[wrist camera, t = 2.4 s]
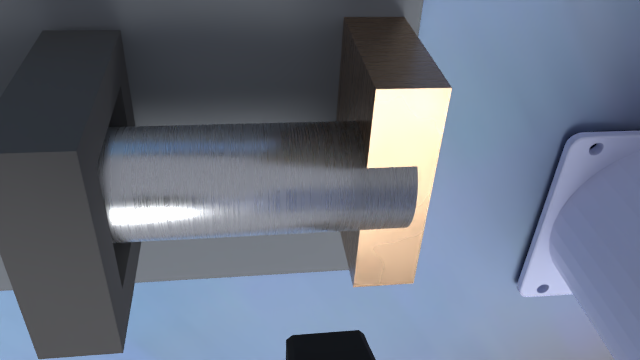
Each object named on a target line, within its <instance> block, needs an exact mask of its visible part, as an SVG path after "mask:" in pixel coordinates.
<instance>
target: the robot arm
mask: <svg viewBox="0 0 640 360" xmlns="http://www.w3.org/2000/svg"><path fill="white" fill-rule="evenodd" d="M596 143H597V145H596V146H595V147H593V148H592V149H590V147H591V146H592V145H594V144H596ZM517 288H518V290H519V292H520V294H521V295H522V296H524V297H537V296H551V295H566V294H573V295H574V297H575V298H576V300H577V301H578V303H579V304H580V306H581V308H582V309H583V311H584V312H585V314H586V315H587V317H588V319H589V320H590V322H591V323H592V325H593V326H594V328H595V330H596V331H597V333H598V334H599V336H600V337H601V339H602V341H603V342H604V344H605V345H606V347H607V348H608V350H609V351H610V353H611V355H612V356H613V358H614V359H615V360H640V131H609V132H581V133H577V134H575V135H573V136H571V137H570V138H569V139H568V140H567V142H566V144H565V146H564V149H563V152H562V155H561V158H560V161H559V164H558V167H557V170H556V173H555V175H554V178H553V181H552V184H551V187H550V190H549V193H548V196H547V199H546V202H545V205H544V208H543V210H542V213H541V216H540V219H539V222H538V225H537V228H536V231H535V234H534V237H533V240H532V243H531V245H530V248H529V251H528V254H527V257H526V260H525V263H524V266H523V269H522V272H521V275H520V278H519V280H518V283H517ZM286 360H376V359H375V357H374V355H373V353H372V351H371V349H370V347H369V345H368V343H367V340H366V338H365V336H364V334H363V333H362V332H360V331H359V330H355V331H342V332H329V333H315V334H302V335H292V336H291V337H290V338H288V339H287V340H286Z"/></svg>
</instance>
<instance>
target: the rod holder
mask: <svg viewBox="0 0 640 360" xmlns="http://www.w3.org/2000/svg"><path fill="white" fill-rule="evenodd" d="M451 90H452V87H451V86H450V84H449V83H448V81H447V80H446V78H445V77H444V75H443V74H442V72H441V71H440V69H439V68H438V66H437V65H436V63H435V62H434V60H433V59H432V57H431V56H430V54H429V53H428V51H427V50H426V48H425V47H424V45H423V44H422V42H421V41H420V39H419V38H418V36H417V35H416V33H415V32H414V30H413V29H412V27H411V26H410V24H409V23H408V21H407V20H406V18H405V17H344V21H343V35H342V49H341V63H340V76H339V90H338V104H337V118H336V121H325V122H287V123H248V124H209V125H171V126H132V127H108V129H107V133H106V136H105V139H104V143H103V146H102V149H101V152H100V156H99V159H98V162H97V166H96V167H97V171H98V176H99V181H100V186H101V190H102V195H103V200H104V204H105V209H106V214H107V219H108V223H109V228H110V233H111V237H112V242H113V243H122V242H142V241H162V240H181V239H201V238H220V237H240V236H260V235H279V234H299V233H318V232H338V231H340V233H341V237H342V242H343V246H344V250H345V254H346V258H347V262H348V267H349V271H350V275H351V279H352V283H353V287H363V286H379V285H395V284H410V283H414V278H415V273H416V268H417V263H418V257H419V252H420V247H421V242H422V237H423V232H424V227H425V222H426V217H427V212H428V207H429V202H430V197H431V191H432V186H433V181H434V176H435V171H436V166H437V161H438V156H439V151H440V146H441V141H442V136H443V131H444V126H445V120H446V115H447V110H448V105H449V100H450V95H451Z"/></svg>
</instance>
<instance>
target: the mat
mask: <svg viewBox="0 0 640 360" xmlns="http://www.w3.org/2000/svg"><path fill="white" fill-rule="evenodd" d="M422 7H423V0H0V97H1V95H2V94H3V92H4V90H5V89H6V87H7V86H8V84H9V83H10V81H11V79H12V78H13V76H14V75H15V73H16V72H17V70H18V68H19V67H20V65H21V64H22V62H23V61H24V59H25V57H26V56H27V54H28V53H29V51H30V50H31V48H32V46H33V45H34V43H35V42H36V40H37V39H38V37H39V35H40V34H41V32H42V31H43V30H120V31H121V37H122V44H123V50H124V56H125V63H126V69H127V75H128V82H129V88H130V94H131V101H132V107H133V114H134V120H135V126H171V125H209V124H248V123H287V122H325V121H336V118H337V104H338V90H339V76H340V63H341V49H342V35H343V21H344V17H405V18H406V20H407V21H408V23H409V24H410V26H411V27H412V29H413V30H414V32H415V33H416V35H417V36H418V33H419V27H420V20H421V13H422ZM338 270H349V267H348V262H347V258H346V254H345V250H344V246H343V242H342V237H341V233H340V231H338V232H318V233H299V234H279V235H260V236H240V237H220V238H201V239H181V240H162V241H142V242H141V248H140V254H139V260H138V266H137V272H136V278H135V283H138V282H155V281H171V280H188V279H205V278H221V277H238V276H255V275H272V274H288V273H305V272H322V271H338ZM4 290H13V288H12V285H11V283H10V280H9V277H8V274H7V272H6V269H5V266H4V264H3V261H2V258H1V255H0V291H4Z"/></svg>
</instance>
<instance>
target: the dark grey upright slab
mask: <svg viewBox="0 0 640 360" xmlns="http://www.w3.org/2000/svg"><path fill="white" fill-rule="evenodd" d="M132 126H135V120H134V114H133V107H132V101H131V94H130V88H129V82H128V75H127V69H126V63H125V56H124V50H123V44H122V37H121V31H120V30H43V31H42V32H41V34H40V35H39V37H38V39H37V40H36V42H35V43H34V45H33V46H32V48H31V50H30V51H29V53H28V54H27V56H26V57H25V59H24V61H23V62H22V64H21V65H20V67H19V68H18V70H17V72H16V73H15V75H14V76H13V78H12V79H11V81H10V83H9V84H8V86H7V87H6V89H5V90H4V92H3V94H2V95H1V97H0V255H1V258H2V261H3V264H4V266H5V269H6V272H7V274H8V277H9V280H10V283H11V285H12V288H13V291H14V294H15V296H16V299H17V302H18V304H19V307H20V310H21V313H22V315H23V318H24V321H25V324H26V326H27V329H28V332H29V334H30V337H31V340H32V343H33V345H34V348H35V351H36V354H37V356H38V359H47V358H60V357H74V356H87V355H100V354H114V353H123V350H124V344H125V338H126V332H127V326H128V320H129V314H130V308H131V302H132V296H133V290H134V284H135V278H136V272H137V266H138V260H139V254H140V248H141V242H122V243H113V242H112V237H111V233H110V228H109V223H108V219H107V214H106V209H105V204H104V200H103V195H102V190H101V186H100V181H99V176H98V171H97V167H96V166H97V162H98V159H99V156H100V152H101V149H102V146H103V143H104V139H105V136H106V133H107V129H108V127H132Z"/></svg>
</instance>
